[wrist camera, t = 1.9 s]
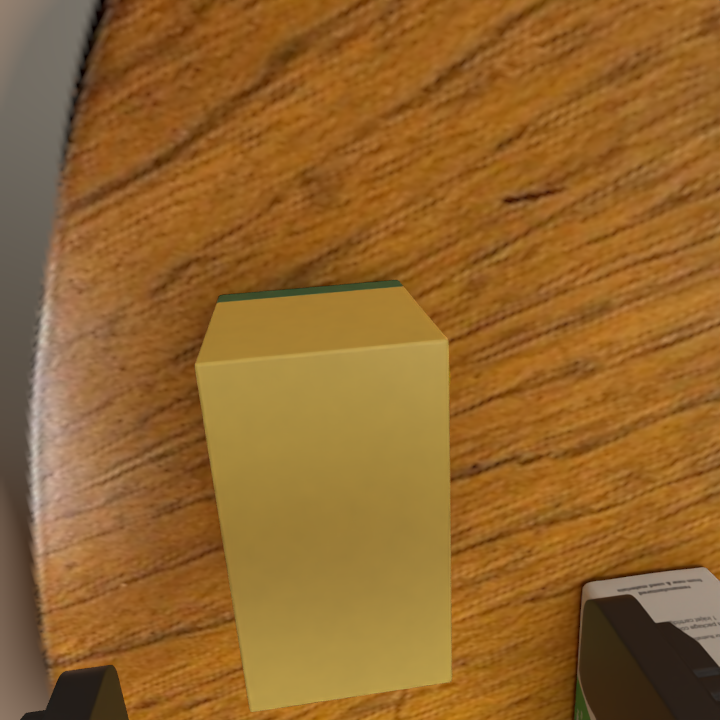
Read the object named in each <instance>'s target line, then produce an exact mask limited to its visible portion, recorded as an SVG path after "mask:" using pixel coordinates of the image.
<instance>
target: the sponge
mask: <svg viewBox="0 0 720 720" xmlns="http://www.w3.org/2000/svg"><path fill="white" fill-rule="evenodd" d="M194 367H195V373H196V379H197V385H198V391H199V398H200V404H201V410H202V416H203V423H204V429H205V435H206V441H207V448H208V454H209V460H210V466H211V472H212V479H213V485H214V491H215V497H216V504H217V510H218V516H219V522H220V528H221V535H222V541H223V547H224V553H225V560H226V566H227V572H228V578H229V585H230V591H231V597H232V603H233V609H234V616H235V622H236V628H237V634H238V641H239V647H240V653H241V659H242V666H243V672H244V678H245V684H246V690H247V697H248V703H249V709H250V711H251V712H256V711H263V710H270V709H276V708H283V707H289V706H296V705H303V704H309V703H316V702H322V701H329V700H336V699H342V698H349V697H355V696H362V695H369V694H375V693H382V692H388V691H395V690H402V689H408V688H415V687H421V686H428V685H435V684H441V683H448V682H451V681H452V623H451V521H450V420H449V341H448V339H447V338H446V337H445V335H444V334H443V333H442V332H441V331H440V330H439V328H438V327H437V326H436V325H435V324H434V322H433V321H432V320H431V319H430V318H429V316H428V315H427V314H426V313H425V312H424V310H423V309H422V308H421V307H420V306H419V304H418V303H417V302H416V301H415V300H414V298H413V297H412V296H411V295H410V294H409V292H408V291H407V290H406V289H405V288H404V287H403V285H402V284H401V283H400V282H399V281H398V280H390V281H379V282H367V283H356V284H344V285H333V286H321V287H310V288H298V289H287V290H275V291H264V292H252V293H240V294H229V295H220V296H219V298H218V300H217V304H216V306H215V309H214V312H213V314H212V317H211V320H210V323H209V326H208V329H207V332H206V334H205V337H204V340H203V343H202V346H201V349H200V352H199V354H198V357H197V360H196V363H195V366H194Z"/></svg>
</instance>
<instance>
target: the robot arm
mask: <svg viewBox="0 0 720 720" xmlns="http://www.w3.org/2000/svg"><path fill="white" fill-rule="evenodd" d="M579 674H580V680H581V685H582V689H583V692H584V695H585V698H586V700H587V703H588V705H589V707H590V709H591V711H592V712H593V714H594V716H595V718H596V720H720V667H719V666H718V664H717V663H716V662H715V661H714V660H713V659H712V657H711V656H710V655H709V654H708V653H707V651H706V650H705V649H704V648H703V647H702V645H701V644H700V643H699V642H698V641H696V640H695V639H693V638H692V637H691V636H689V635H688V634H686V633H685V632H683V631H682V630H680V629H679V628H678V627H676V626H675V625H673V624H672V623H670V622H669V621H666V622H659V623H655V622H654V620H653V619H652V618H651V617H650V615H649V614H648V613H647V611H646V610H645V609H644V608H643V606H642V605H641V604H640V602H639V601H638V600H637V599H636V598H635V597H634V596H632V595H630V594H624V595H617V596H610V597H603V598H596V599H589V600H587V601H586V602H585V604H584V609H583V620H582V633H581V646H580V659H579ZM20 720H129V719H128V715H127V711H126V707H125V703H124V699H123V694H122V690H121V686H120V682H119V678H118V674H117V671H116V669H115V667H114V666H113V665H107V666H99V667H92V668H85V669H78V670H71V671H65V672H63V673H62V674H61V675H60V677H59V679H58V681H57V683H56V686H55V688H54V691H53V693H52V695H51V698H50V700H49V703H48V705H47V708H46V710H43V711H36V712H30V713H26V714H25V715H24V716H23V717H22V718H21V719H20Z"/></svg>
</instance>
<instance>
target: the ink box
mask: <svg viewBox="0 0 720 720" xmlns="http://www.w3.org/2000/svg"><path fill="white" fill-rule="evenodd" d="M624 594H630V595H632V596H634V597H635V598H636V599H637V600H638V601H639V602H640V604H641V605H642V606H643V608H644V609H645V610H646V611H647V613H648V614H649V615H650V617H651V618H652V619H653V620H654V622H655V623H659V622H666V621H669V622H670V623H672V624H673V625H675V626H676V627H678V628H679V629H680V630H682V631H683V632H685V633H686V634H688V635H689V636H691V637H692V638H693V639H695V640H696V641H698V642H699V643H700V644H701V645H702V647H703V648H704V649H705V650H706V651H707V653H708V654H709V655H710V656H711V657H712V659H713V660H714V661H715V662H716V663H717V664H718V666H719V667H720V581H719V580H718V579H717V578H716V577H715V576H714V575H713V574H712V573H711V572H710V571H709V570H708V569H706V568H703V567H700V568H692V569H681V570H673V571H665V572H658V573H650V574H643V575H636V576H629V577H623V578H616V579H610V580H603V581H594V582H589V583H587V584H585V585H584V586H583V589H582V602H581V617H580V634H579V652H578V669H577V685H576V703H575V717H574V720H596V718H595V716H594V714H593V712H592V711H591V709H590V707H589V705H588V703H587V700H586V698H585V695H584V692H583V689H582V685H581V680H580V674H579V659H580V646H581V633H582V620H583V609H584V604H585V602H586V601H587V600H589V599H596V598H603V597H610V596H617V595H624Z"/></svg>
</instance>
